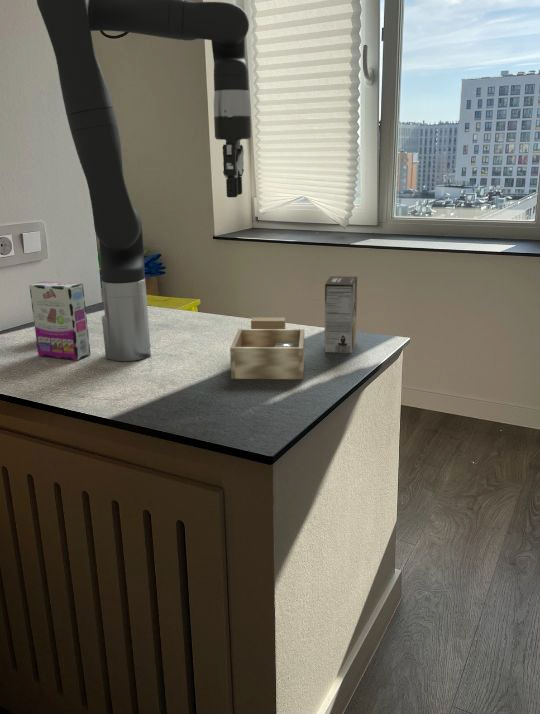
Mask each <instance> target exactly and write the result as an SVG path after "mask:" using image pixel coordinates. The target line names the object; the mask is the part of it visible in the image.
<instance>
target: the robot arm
mask: <svg viewBox="0 0 540 714" xmlns="http://www.w3.org/2000/svg"><path fill="white" fill-rule="evenodd" d="M36 5H37V8H38V10H39V12H40V14H41V18H42V20H43V23H44V26H45V28H46V31H47V34H48V37H49V41H50V43H51V46H52V49H53V53H54V57H55V60H56V65H57V71H58V76H59V77H58V79H59V84H60V85H59V86H60V90H61V94H62V100H63V105H64V108H65V114H66V118H67V123H68V126H69V129H70V133H71V137H72V140H73V144H74V147H75V150H76V154H77V157H78V161H79V163H80V166H81V169H82V170H83V174H84V178H85V179H86V183H87V187H88V193H89V199H90V205H91V210H92V218H93V227H94V232H95V236H96V237H97V239H98V240H99V251H100V253H99V255H100V270H99V271H100V280H101V289H102V298H103V301H102V302H103V311H104V315H102V317H101V325H102V334H103V344H104V353H105V359H106V360H112V361H116V362H117V361H118V362H132V361H133V362H134V361H139V360H143V359H146V358H148V357H150V356H151V352H152V351H151V348H152V347H151V339H150V337H151V335H150V327H149V325H150V324H149V315H148V314H149V310H148V297H147V287H146V286H147V285H146V275H145V252H144V249H145V248H144V237H143V236H144V235H143V225H142V219H141V217H140V215H139V213H138V211H137V210H136V209H135V208H134V207H133V205H132V201H131V199H130V193H129V192H128V188H127V185H126V181H125V177H124V170H123V169H124V168H123V154H122V153H123V152H122V144H121V143H122V142H121V137H120V130H119V125H118V121H117V117H116V113H115V112H116V111H115V109H114V103H113V101H112V97H111V94H110V91H109V87H108V85H107V82H106V80H105V79H106V78H105V76H104V74H103V71H102V68H101V67H100V64H99V61H98V58H97V55H96V51H95V48H94V43H93V38H92V37H93V36H92V32H96V31H97V32H99V31H100V32H102V31H103V32H124V33H132V34H139V35H144V36H151V37H158V38H165V39H172V40H179V41H195V40H208V41H211V48H212V49H211V50H212V57H213V89H214V93H213V124H214V125H213V126H214V138H215V140H218V141H219V140H221V141H222V140H224V141H225V144H223V145H222V158H223V159H222V160H223V162H222V163H223V164H222V165H223V172H222V173H223V176H224V177H225V183H226V184H225V185H226V197H227V198H237V197H238V196H239V195H240V196H241V195H242V194H243V182H242V181H243V179H242V178H243V175H244V171H245V169H244V164H245V161H244V155H245V153H244V146H243V144H241V140H250V139H251V137H252V130H251V129H252V125H251V123H252V122H251V102H250V101H251V99H250V89H249V88H250V87H249V70H248V69H249V68H248V64H247V62H246V48H245V47H246V44H245V43H246V36H247V34H248V32H249V29H250V28H249V27H250V20H249V17H248V15H247V13H246V11H245V10H244V9H243V8H242V7H240V6H239V5H237V4H234V3H230V2H223V1H222V2H221V1H197V2H196V1H192V0H36Z"/></svg>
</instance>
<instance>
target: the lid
mask: <svg viewBox="0 0 540 714" xmlns="http://www.w3.org/2000/svg"><path fill="white" fill-rule="evenodd" d="M250 329H286V317H252V318H251V320H250Z"/></svg>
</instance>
